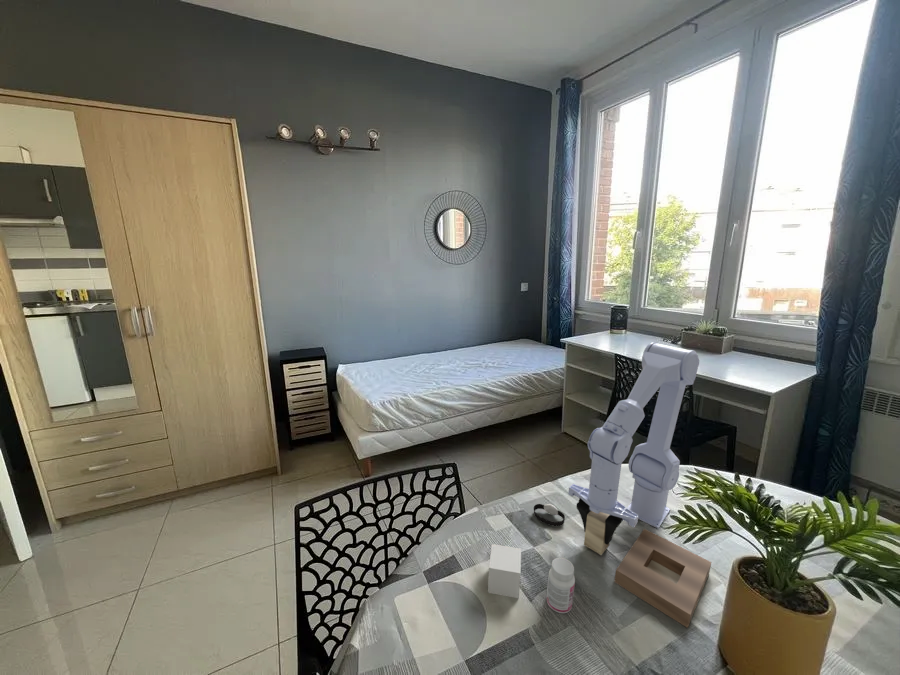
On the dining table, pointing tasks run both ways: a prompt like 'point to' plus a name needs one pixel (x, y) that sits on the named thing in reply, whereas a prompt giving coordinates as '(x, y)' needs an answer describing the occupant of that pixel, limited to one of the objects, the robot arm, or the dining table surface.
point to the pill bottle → (561, 585)
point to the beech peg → (596, 532)
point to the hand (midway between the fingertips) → (597, 535)
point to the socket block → (664, 576)
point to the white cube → (504, 571)
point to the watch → (551, 510)
